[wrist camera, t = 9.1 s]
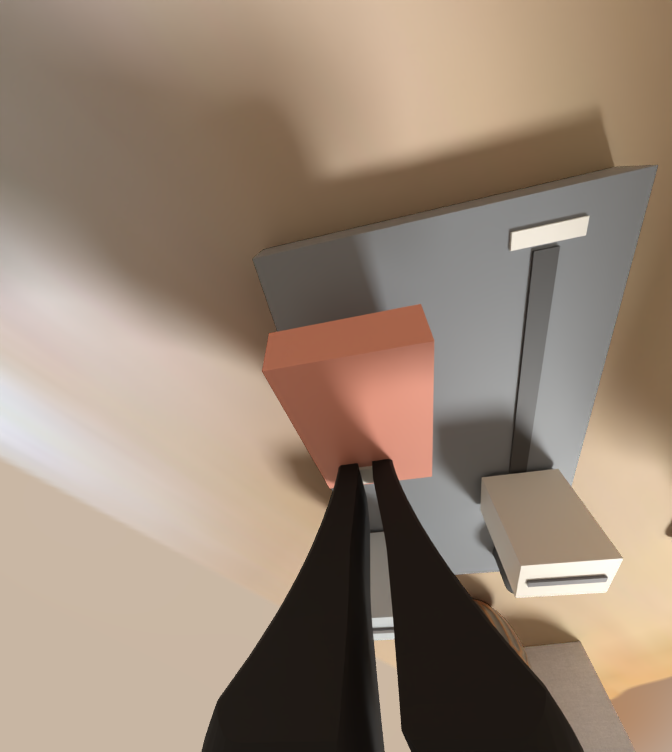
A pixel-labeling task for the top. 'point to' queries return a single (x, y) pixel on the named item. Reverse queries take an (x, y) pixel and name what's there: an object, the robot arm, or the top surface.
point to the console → (485, 327)
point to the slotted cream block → (546, 535)
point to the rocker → (359, 390)
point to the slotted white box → (380, 589)
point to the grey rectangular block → (580, 696)
